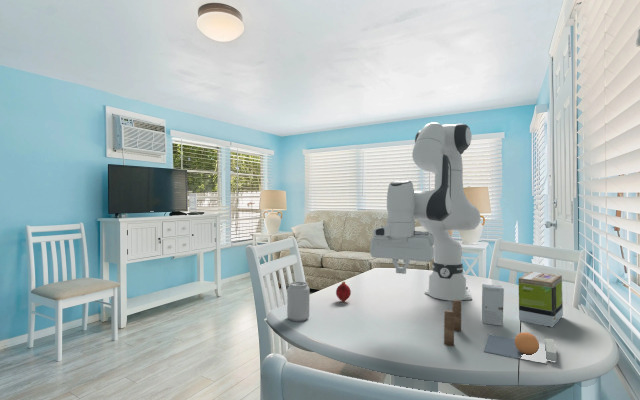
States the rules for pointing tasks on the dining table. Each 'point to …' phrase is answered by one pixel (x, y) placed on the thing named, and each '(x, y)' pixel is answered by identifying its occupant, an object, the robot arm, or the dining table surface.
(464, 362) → the dining table surface
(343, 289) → the onion
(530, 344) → the ball
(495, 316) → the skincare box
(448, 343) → the post
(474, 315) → the dining table surface
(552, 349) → the stopper wall
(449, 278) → the robot arm
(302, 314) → the can
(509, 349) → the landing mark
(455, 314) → the post
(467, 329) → the dining table surface
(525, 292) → the tea box
